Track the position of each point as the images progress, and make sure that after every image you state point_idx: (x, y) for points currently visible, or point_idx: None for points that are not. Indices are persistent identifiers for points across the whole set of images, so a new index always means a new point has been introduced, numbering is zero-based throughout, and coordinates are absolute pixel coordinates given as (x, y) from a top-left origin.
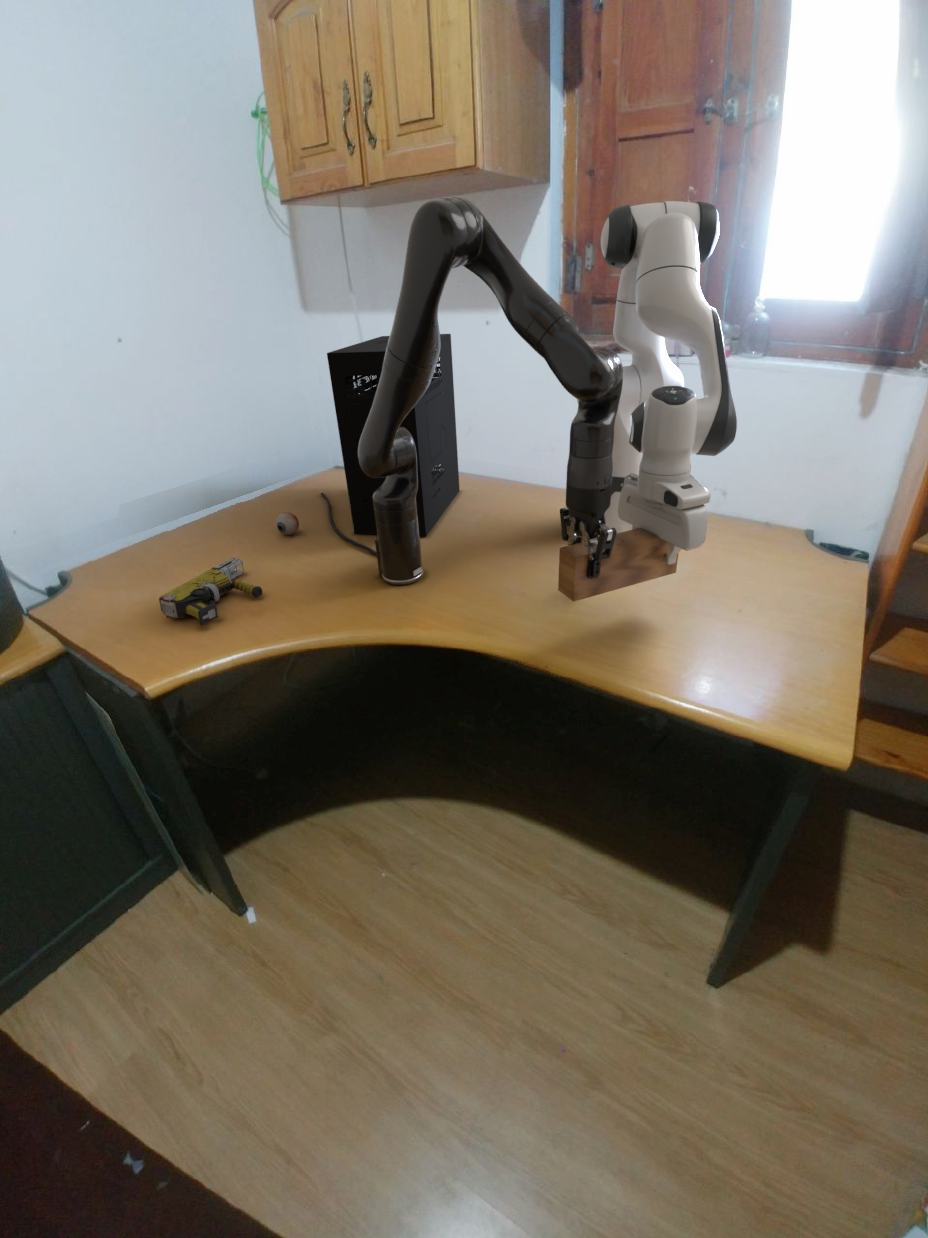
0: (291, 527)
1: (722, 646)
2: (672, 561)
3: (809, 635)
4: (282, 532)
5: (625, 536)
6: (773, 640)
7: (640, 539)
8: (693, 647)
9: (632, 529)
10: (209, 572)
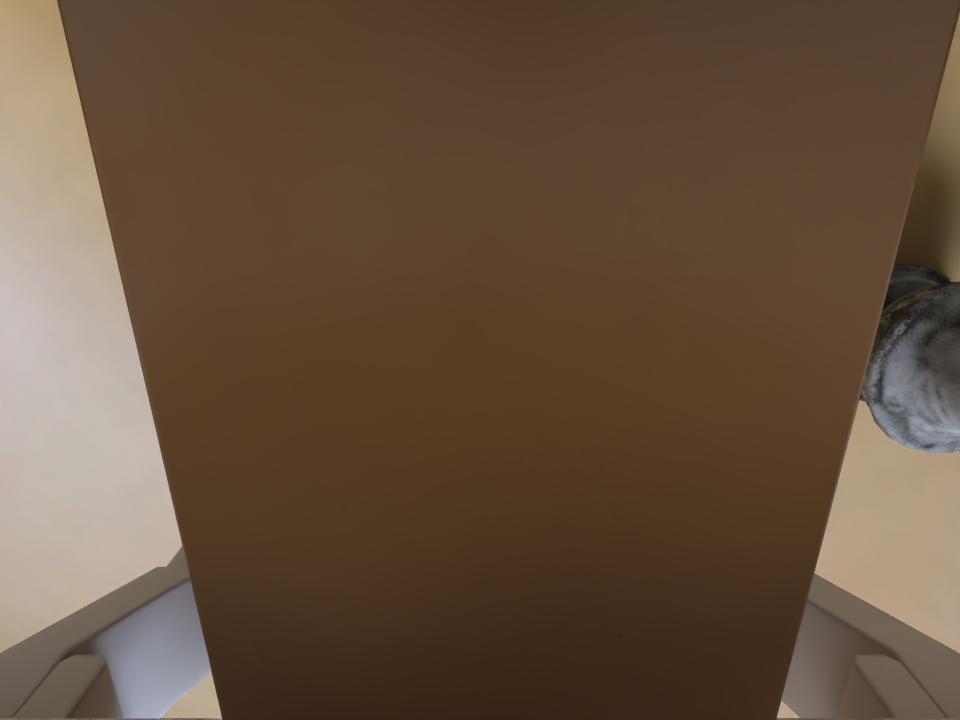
0: None
1: (28, 388)
2: None
3: None
4: None
5: (599, 155)
6: (22, 576)
7: (227, 369)
8: (53, 271)
9: (949, 652)
10: None
